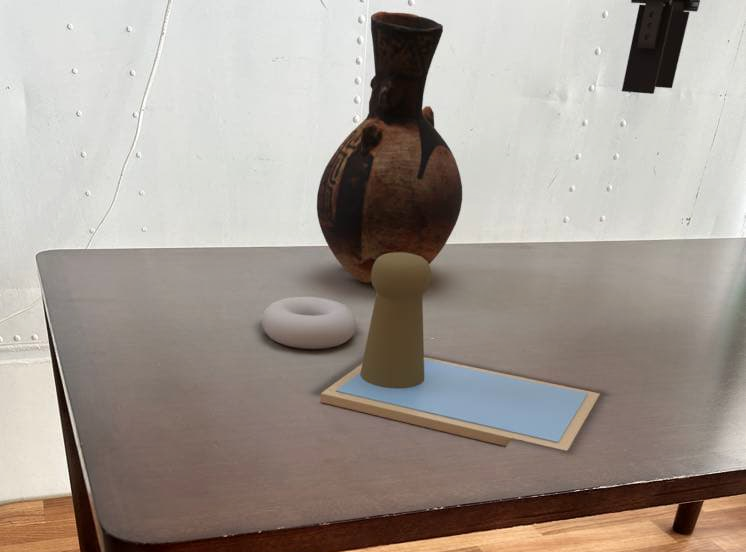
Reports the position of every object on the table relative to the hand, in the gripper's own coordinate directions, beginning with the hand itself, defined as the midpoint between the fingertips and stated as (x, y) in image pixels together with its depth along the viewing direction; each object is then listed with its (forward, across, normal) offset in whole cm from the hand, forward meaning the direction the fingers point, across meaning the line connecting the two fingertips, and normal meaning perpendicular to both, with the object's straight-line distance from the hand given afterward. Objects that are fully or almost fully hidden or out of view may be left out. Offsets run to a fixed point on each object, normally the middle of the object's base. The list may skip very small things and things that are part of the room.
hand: (648, 90), depth 78 cm
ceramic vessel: (+25, -10, -30) cm, 40 cm away
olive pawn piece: (+24, +25, -14) cm, 37 cm away
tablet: (+25, +25, -7) cm, 36 cm away
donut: (+25, +17, -27) cm, 40 cm away
